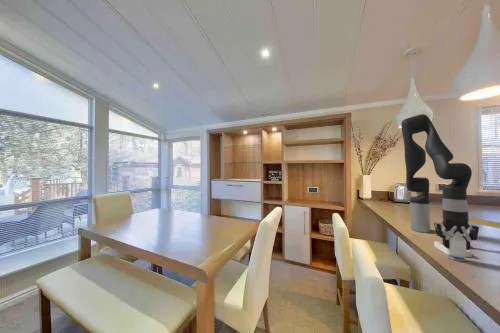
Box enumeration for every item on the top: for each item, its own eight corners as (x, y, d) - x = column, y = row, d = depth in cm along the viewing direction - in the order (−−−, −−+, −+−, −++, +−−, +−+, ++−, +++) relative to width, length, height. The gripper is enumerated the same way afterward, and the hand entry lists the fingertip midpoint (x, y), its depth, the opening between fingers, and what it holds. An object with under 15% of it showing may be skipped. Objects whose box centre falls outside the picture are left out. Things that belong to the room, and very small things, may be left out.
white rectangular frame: (434, 246, 93) (434, 241, 93) (455, 248, 91) (455, 242, 91) (447, 254, 84) (447, 249, 84) (471, 257, 81) (471, 251, 81)
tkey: (513, 258, 78) (512, 224, 78) (509, 258, 77) (507, 225, 77) (458, 241, 95) (457, 214, 95) (454, 242, 95) (453, 215, 95)
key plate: (455, 244, 95) (455, 242, 95) (466, 245, 93) (466, 243, 93) (461, 247, 91) (461, 245, 91) (472, 248, 89) (472, 246, 89)
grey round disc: (445, 255, 83) (445, 254, 83) (460, 257, 81) (460, 256, 81) (453, 261, 78) (453, 259, 78) (469, 262, 77) (469, 261, 77)
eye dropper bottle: (465, 259, 77) (465, 230, 77) (445, 254, 81) (445, 226, 81) (466, 256, 79) (467, 228, 79) (447, 251, 84) (447, 225, 84)
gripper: (439, 210, 79) (440, 250, 79) (484, 212, 74) (486, 254, 74) (428, 206, 86) (430, 243, 86) (470, 208, 82) (471, 246, 81)
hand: (456, 248), depth 80 cm, fingers closed on eye dropper bottle, 5 cm apart
